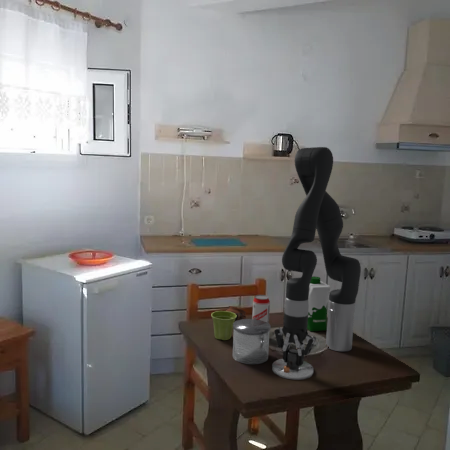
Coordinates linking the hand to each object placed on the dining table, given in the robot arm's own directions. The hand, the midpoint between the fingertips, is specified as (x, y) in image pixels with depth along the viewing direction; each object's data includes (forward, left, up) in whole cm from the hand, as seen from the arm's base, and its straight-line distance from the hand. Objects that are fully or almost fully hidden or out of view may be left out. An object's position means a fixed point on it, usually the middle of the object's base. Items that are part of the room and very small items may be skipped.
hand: (292, 363), depth 155 cm
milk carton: (-40, -11, -3) cm, 42 cm away
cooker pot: (0, -16, -2) cm, 16 cm away
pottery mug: (-22, -37, -3) cm, 43 cm away
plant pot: (-8, -33, -3) cm, 34 cm away
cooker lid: (0, 0, -2) cm, 2 cm away
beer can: (-16, -22, -3) cm, 27 cm away
